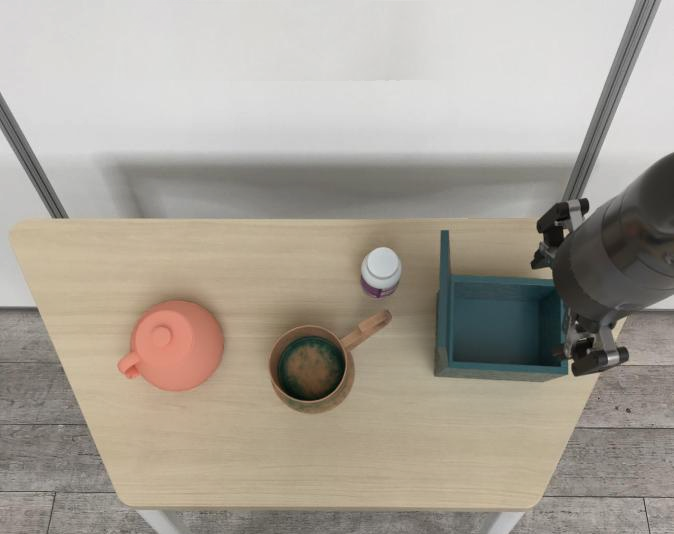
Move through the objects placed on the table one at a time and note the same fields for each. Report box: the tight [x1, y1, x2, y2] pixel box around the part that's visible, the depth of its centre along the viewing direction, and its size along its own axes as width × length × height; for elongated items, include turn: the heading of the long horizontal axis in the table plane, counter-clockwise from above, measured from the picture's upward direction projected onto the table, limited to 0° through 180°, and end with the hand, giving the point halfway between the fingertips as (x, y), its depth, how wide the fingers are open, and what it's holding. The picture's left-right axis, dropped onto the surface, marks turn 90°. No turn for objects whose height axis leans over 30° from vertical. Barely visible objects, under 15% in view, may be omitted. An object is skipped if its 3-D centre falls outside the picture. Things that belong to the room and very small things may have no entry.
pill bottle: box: [359, 246, 403, 301], centre depth 81 cm, size 5×5×10 cm
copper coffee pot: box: [267, 308, 393, 415], centre depth 79 cm, size 12×18×12 cm, turn 121°
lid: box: [438, 229, 452, 368], centre depth 67 cm, size 16×12×1 cm
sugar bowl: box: [116, 300, 224, 393], centre depth 80 cm, size 12×14×10 cm
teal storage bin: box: [433, 273, 569, 383], centre depth 80 cm, size 15×12×10 cm
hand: (551, 307), depth 58 cm, fingers open, 8 cm apart
